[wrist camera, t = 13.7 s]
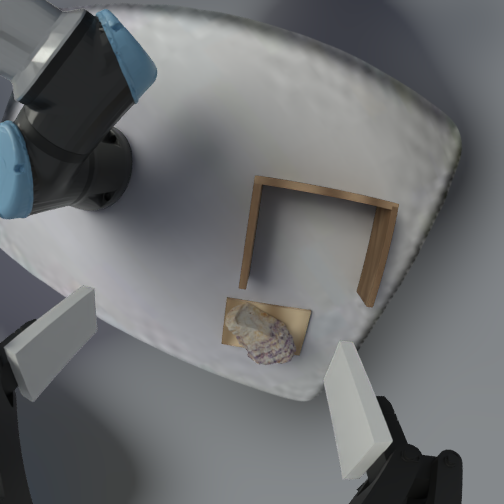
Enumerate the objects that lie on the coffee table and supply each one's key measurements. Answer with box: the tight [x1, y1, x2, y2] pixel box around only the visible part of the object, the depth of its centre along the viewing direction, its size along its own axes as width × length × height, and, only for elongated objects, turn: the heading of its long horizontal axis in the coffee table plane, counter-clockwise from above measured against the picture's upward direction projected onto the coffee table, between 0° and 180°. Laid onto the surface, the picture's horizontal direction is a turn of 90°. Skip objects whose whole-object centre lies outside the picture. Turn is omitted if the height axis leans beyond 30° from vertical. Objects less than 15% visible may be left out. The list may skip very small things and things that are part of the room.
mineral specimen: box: [225, 303, 296, 365], centre depth 44 cm, size 13×7×6 cm, turn 58°
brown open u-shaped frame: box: [239, 176, 399, 307], centre depth 40 cm, size 20×16×6 cm
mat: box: [221, 297, 311, 355], centre depth 48 cm, size 14×9×1 cm, turn 81°
